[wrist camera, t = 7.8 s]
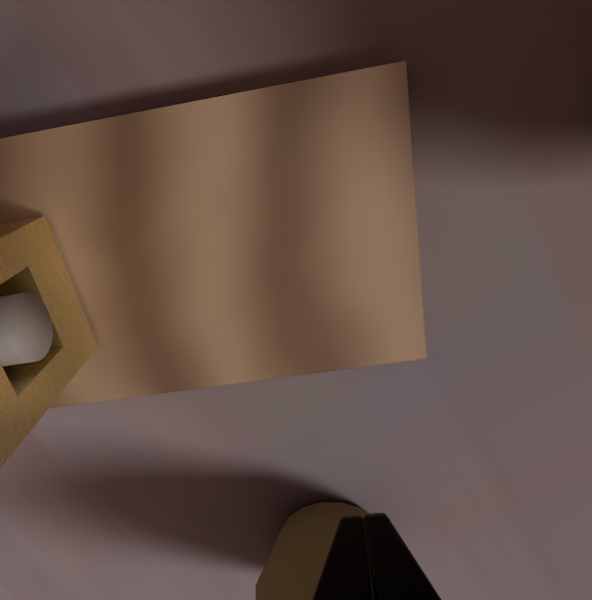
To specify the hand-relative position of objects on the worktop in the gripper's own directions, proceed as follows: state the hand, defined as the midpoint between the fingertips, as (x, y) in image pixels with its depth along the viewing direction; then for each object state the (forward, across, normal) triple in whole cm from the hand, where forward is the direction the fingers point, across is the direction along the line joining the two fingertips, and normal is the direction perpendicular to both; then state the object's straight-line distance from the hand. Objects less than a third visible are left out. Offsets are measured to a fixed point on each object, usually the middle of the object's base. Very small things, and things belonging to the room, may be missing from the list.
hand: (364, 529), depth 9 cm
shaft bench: (+13, +8, -2) cm, 15 cm away
